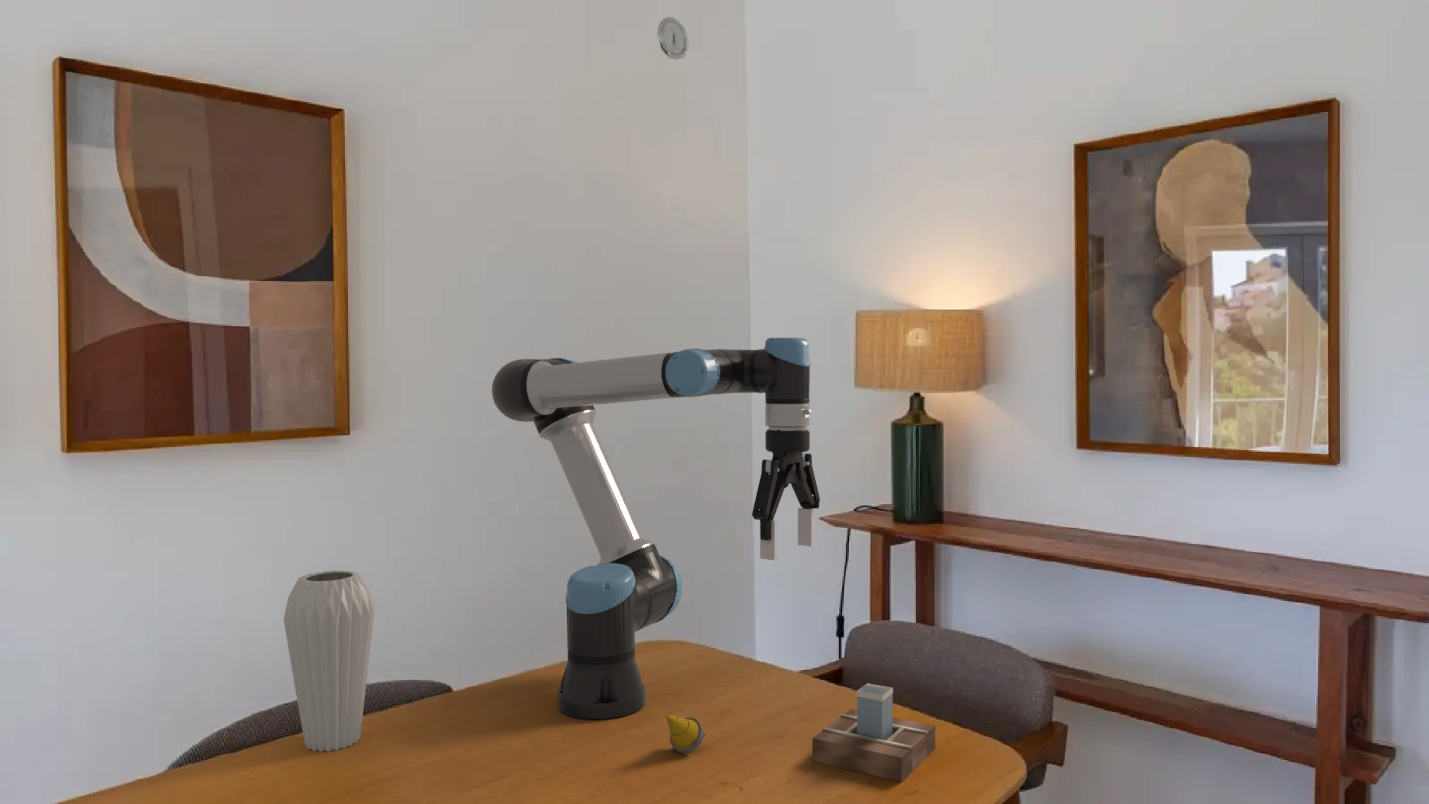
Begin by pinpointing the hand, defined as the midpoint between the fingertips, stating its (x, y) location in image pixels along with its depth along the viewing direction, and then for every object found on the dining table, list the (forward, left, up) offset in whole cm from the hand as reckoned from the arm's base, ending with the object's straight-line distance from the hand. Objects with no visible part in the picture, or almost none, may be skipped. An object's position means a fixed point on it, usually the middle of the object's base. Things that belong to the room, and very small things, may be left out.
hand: (787, 552), depth 168 cm
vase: (-54, -51, -27) cm, 79 cm away
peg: (+21, -12, -27) cm, 36 cm away
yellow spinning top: (-4, -26, -27) cm, 38 cm away
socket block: (+21, -12, -27) cm, 36 cm away
